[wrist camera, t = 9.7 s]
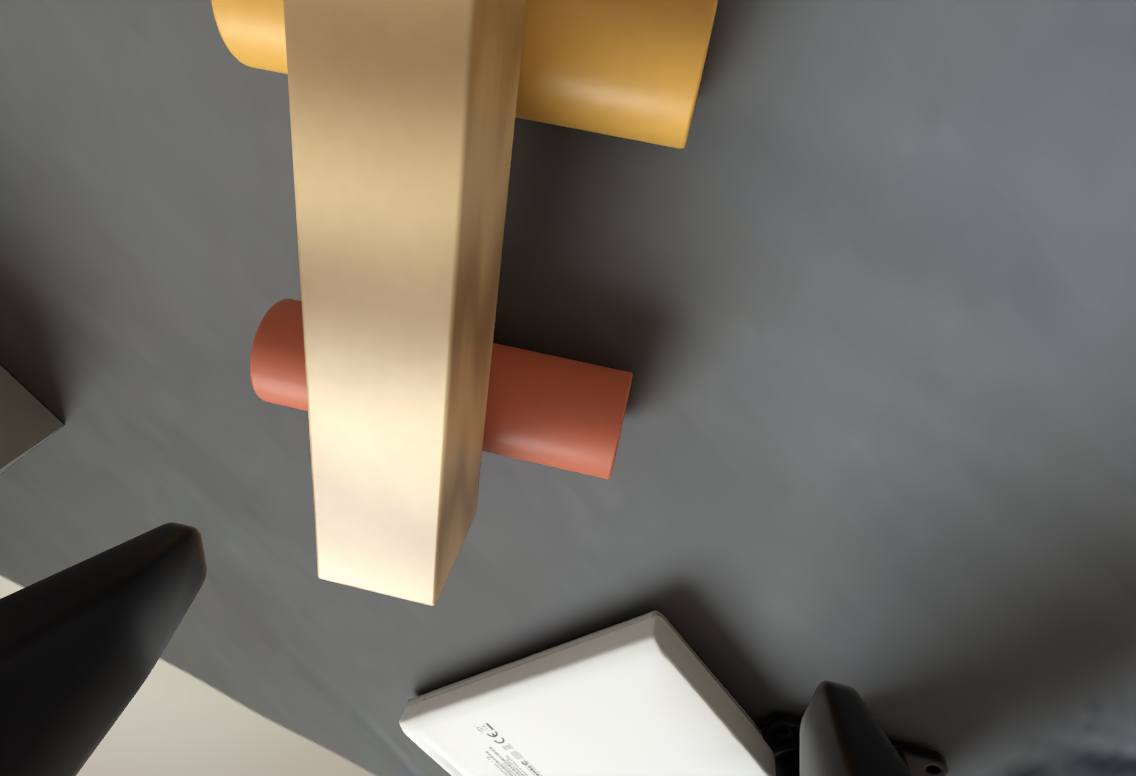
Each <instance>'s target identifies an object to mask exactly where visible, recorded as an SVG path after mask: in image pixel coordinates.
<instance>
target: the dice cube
mask: <svg viewBox="0 0 1136 776" xmlns="http://www.w3.org/2000/svg"><path fill="white" fill-rule="evenodd" d="M63 426H64V424H63V423H62V422H60V421H59V420H58V419H57V418H56V417H55V416H54V415H53V414H52V413H51V412H50V411H49V410H48V409H47V408H46V407H44V406H43V405H42V404H41V403H40V402H39V401H38V400H37V399H36V398H35V397H34V396H33V395H32V394H31V393H30V392H28V391H27V390H26V389H25V388H24V387H23V386H22V385H21V384H20V383H19V382H18V381H17V380H16V379H15V378H14V377H13V376H11V375H10V374H9V373H8V372H7V371H6V370H5V369H4V368H3V367H2V366H1V365H0V474H1V473H2V472H3V471H5V470H6V469H7V468H9V467H10V466H11V465H13V464H14V463H15V462H17V461H18V460H19V459H21V458H22V457H23V456H24V455H26V454H27V453H28V452H30V451H31V450H32V449H34V448H35V447H36V446H38V445H39V444H40V443H42V442H43V441H44V440H46V439H47V438H48V437H50V436H51V435H52V434H53V433H55V432H56V431H57V430H59V429H60V428H61V427H63Z"/></svg>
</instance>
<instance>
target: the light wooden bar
mask: <svg viewBox="0 0 1136 776" xmlns="http://www.w3.org/2000/svg"><path fill="white" fill-rule="evenodd" d="M283 4H284V21H285V37H286V54H287V70H288V87H289V103H290V120H291V136H292V153H293V169H294V186H295V202H296V219H297V235H298V252H299V268H300V285H301V301H302V318H303V335H304V351H305V368H306V384H307V401H308V417H309V434H310V450H311V467H312V483H313V500H314V516H315V533H316V549H317V566H318V577H319V578H320V579H324V580H328V581H332V582H336V583H340V584H344V585H348V586H353V587H357V588H361V589H365V590H369V591H373V592H377V593H381V594H385V595H389V596H393V597H398V598H402V599H406V600H410V601H414V602H418V603H422V604H426V605H430V606H434V605H435V604H436V603H437V601H438V598H439V596H440V594H441V592H442V589H443V587H444V585H445V583H446V580H447V578H448V576H449V574H450V571H451V569H452V567H453V564H454V562H455V560H456V558H457V555H458V553H459V551H460V549H461V546H462V544H463V542H464V539H465V537H466V535H467V533H468V530H469V528H470V526H471V524H472V521H473V519H474V517H475V515H476V508H477V497H478V487H479V477H480V467H481V457H482V447H483V437H484V427H485V417H486V407H487V397H488V387H489V376H490V366H491V356H492V346H493V336H494V326H495V316H496V306H497V296H498V286H499V276H500V266H501V256H502V245H503V235H504V225H505V215H506V205H507V195H508V185H509V175H510V165H511V155H512V145H513V135H514V124H515V114H516V104H517V94H518V84H519V74H520V64H521V54H522V44H523V34H524V24H525V14H526V4H527V0H283Z"/></svg>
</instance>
